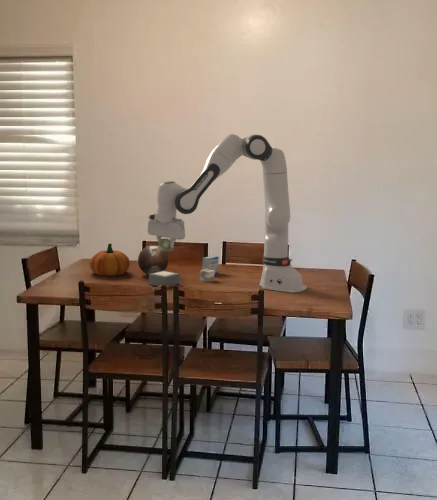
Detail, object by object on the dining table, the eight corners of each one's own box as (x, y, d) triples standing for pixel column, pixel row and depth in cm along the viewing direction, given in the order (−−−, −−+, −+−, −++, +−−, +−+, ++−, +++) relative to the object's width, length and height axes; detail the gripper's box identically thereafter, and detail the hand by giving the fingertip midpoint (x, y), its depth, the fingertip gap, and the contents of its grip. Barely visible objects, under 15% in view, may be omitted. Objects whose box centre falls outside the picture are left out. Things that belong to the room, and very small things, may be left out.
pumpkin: (100, 279, 292) (100, 248, 289) (83, 272, 307) (83, 242, 304) (136, 275, 303) (136, 245, 301) (118, 268, 318) (118, 239, 316)
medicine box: (208, 275, 306) (209, 258, 305) (202, 274, 309) (202, 257, 307) (218, 273, 313) (218, 256, 311) (211, 271, 315) (212, 255, 314)
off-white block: (214, 280, 296) (214, 270, 295) (208, 282, 292) (208, 272, 291) (206, 278, 299) (206, 268, 298) (200, 280, 295) (200, 270, 294)
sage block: (173, 250, 284) (173, 239, 283) (166, 251, 280) (166, 240, 279) (165, 248, 286) (165, 238, 286) (158, 250, 282) (158, 239, 282)
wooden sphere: (144, 279, 294) (144, 248, 292) (133, 273, 308) (133, 243, 305) (172, 277, 301) (173, 247, 298) (161, 270, 314) (161, 242, 312)
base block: (179, 284, 287) (179, 273, 286) (165, 288, 279) (165, 276, 278) (163, 280, 293) (163, 270, 292) (149, 284, 285) (149, 273, 284)
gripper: (188, 218, 277) (187, 248, 279) (154, 214, 289) (154, 243, 291) (179, 220, 272) (178, 250, 274) (145, 215, 284) (145, 244, 286)
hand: (165, 246), depth 283 cm, fingers closed on sage block, 5 cm apart
